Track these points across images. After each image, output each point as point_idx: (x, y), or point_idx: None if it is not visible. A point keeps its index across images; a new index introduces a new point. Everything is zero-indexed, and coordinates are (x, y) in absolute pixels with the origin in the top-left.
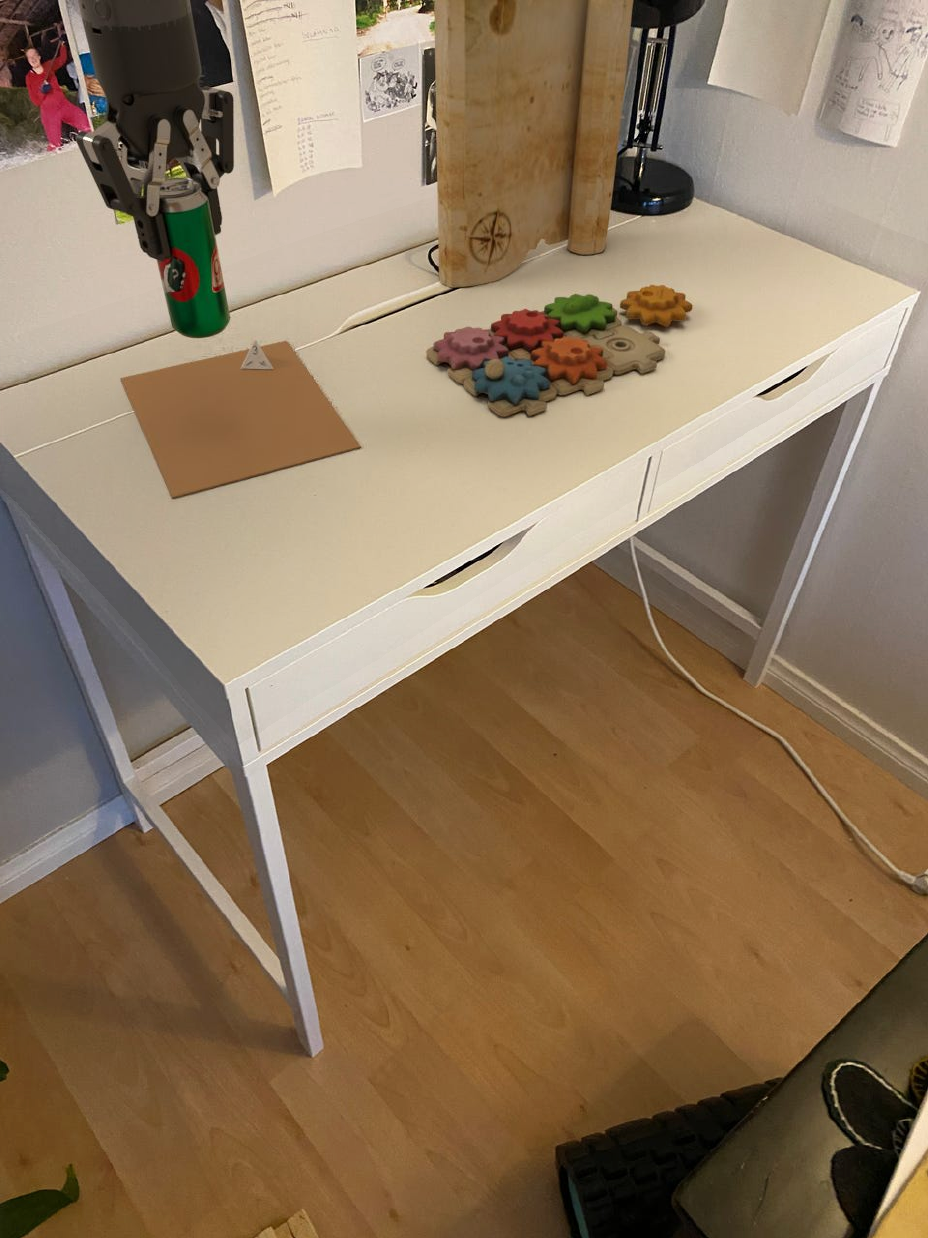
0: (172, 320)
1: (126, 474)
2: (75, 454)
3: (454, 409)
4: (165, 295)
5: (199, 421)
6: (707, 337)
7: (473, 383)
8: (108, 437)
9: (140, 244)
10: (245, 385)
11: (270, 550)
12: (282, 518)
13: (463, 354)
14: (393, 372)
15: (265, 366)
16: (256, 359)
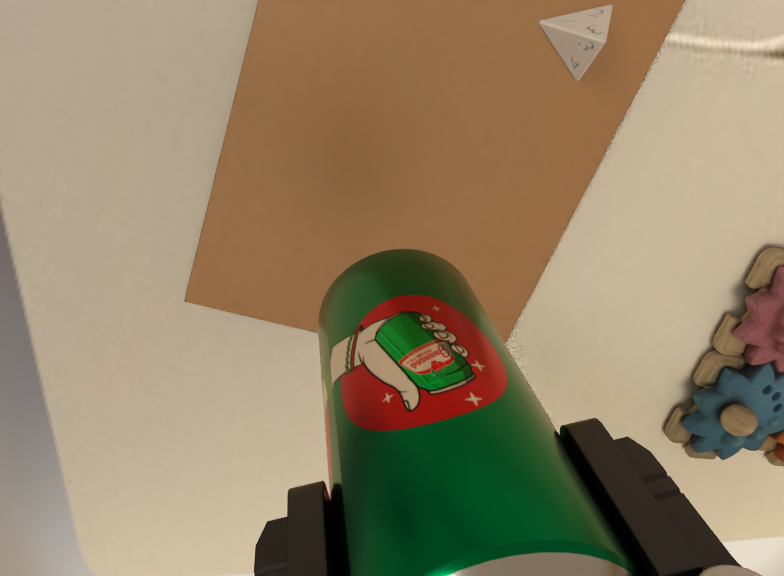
0: (319, 331)
1: (145, 185)
2: (75, 43)
3: (648, 379)
4: (324, 362)
5: (347, 138)
6: None
7: (711, 377)
8: (166, 37)
9: (257, 556)
10: (498, 88)
11: (245, 464)
12: (297, 426)
13: (769, 337)
14: (692, 244)
15: (572, 67)
16: (572, 50)
